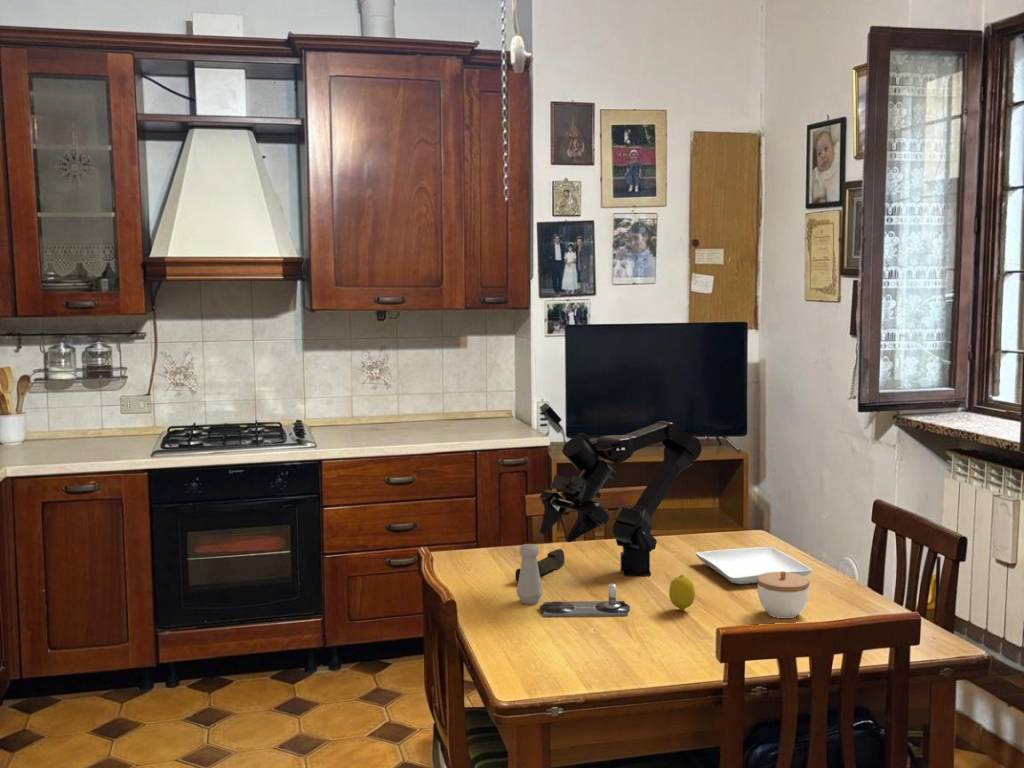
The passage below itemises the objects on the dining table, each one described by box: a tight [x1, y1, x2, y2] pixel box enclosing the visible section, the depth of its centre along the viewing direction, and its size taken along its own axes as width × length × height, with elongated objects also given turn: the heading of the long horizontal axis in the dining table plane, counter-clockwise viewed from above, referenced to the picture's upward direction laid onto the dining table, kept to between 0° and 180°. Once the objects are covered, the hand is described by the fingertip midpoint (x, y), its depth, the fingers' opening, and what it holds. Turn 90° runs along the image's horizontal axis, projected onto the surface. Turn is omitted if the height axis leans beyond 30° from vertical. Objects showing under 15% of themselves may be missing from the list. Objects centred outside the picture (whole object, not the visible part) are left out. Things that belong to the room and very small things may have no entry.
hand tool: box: [514, 548, 565, 582], centre depth 252 cm, size 19×4×5 cm, turn 143°
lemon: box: [668, 574, 696, 612], centre depth 224 cm, size 6×6×8 cm
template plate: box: [539, 600, 631, 618], centre depth 225 cm, size 20×8×1 cm, turn 89°
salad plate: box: [695, 546, 813, 585], centre depth 250 cm, size 21×21×3 cm
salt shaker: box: [516, 543, 543, 606], centre depth 231 cm, size 6×6×13 cm
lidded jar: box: [756, 571, 810, 619], centre depth 220 cm, size 11×11×9 cm
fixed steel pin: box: [604, 583, 621, 610], centre depth 225 cm, size 4×4×5 cm
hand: (554, 537), depth 235 cm, fingers open, 9 cm apart
